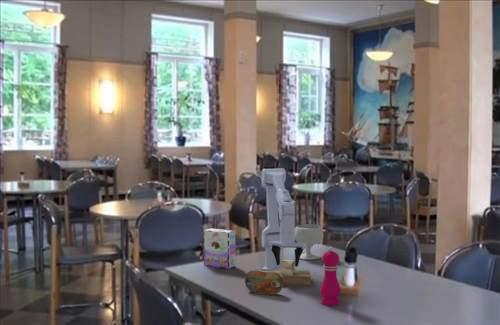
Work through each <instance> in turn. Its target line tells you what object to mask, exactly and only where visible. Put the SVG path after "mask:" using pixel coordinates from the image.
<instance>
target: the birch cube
mask: <svg viewBox="0 0 500 325" xmlns="http://www.w3.org/2000/svg"><path fill="white" fill-rule="evenodd" d="M295 270H296V267H295V260H293V259H291V260H290V259H283V261H282V262H281V275H291V276H292V275H293V274H294V273H295Z"/></svg>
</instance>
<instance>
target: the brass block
mask: <svg viewBox="0 0 500 325" xmlns="http://www.w3.org/2000/svg"><path fill="white" fill-rule="evenodd" d="M264 271H270V272H276V273H278V274H279V275H280V276H281V277H282V279H283V287H287V286H292V287H295V286H297V287H299V286H300V287H301V286H302V287H303V286H304V287H306V286H307V287H308V286H310V287H311V286H312V275H311V273H310V270H296V269H295V273H294V274H293V275H292V276H291V275H281V270H264Z"/></svg>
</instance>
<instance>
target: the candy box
mask: <svg viewBox="0 0 500 325" xmlns="http://www.w3.org/2000/svg"><path fill="white" fill-rule="evenodd" d="M203 266H205V267H211V268H219V269H226V270H229V269H233V268H235V267H236V231H235V230H231V229H223V228H221V229H220V228H212V227H211V228H206V229H203Z"/></svg>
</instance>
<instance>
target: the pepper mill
mask: <svg viewBox="0 0 500 325" xmlns="http://www.w3.org/2000/svg"><path fill="white" fill-rule="evenodd" d="M321 261H322V263H323V267H322V268H323V271H324V276H323V281H321V282H322V283H321V285H320V288H319V293H320V295H321V296H322V297H321V298H320V299H321V304H322V305H325V306H329V307H330V306H332V307H333V306H338V305H339V304H340V298H339V296H340V295H341V293H342V290H341V286H340V283H339V280H338V276H337V270H338V268H339V265H338V263H340V255H339V254H338V253H337V252H336V251H334V247H332V246H330V247H328V251H325V252H324V253H323V254H322V255H321Z"/></svg>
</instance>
